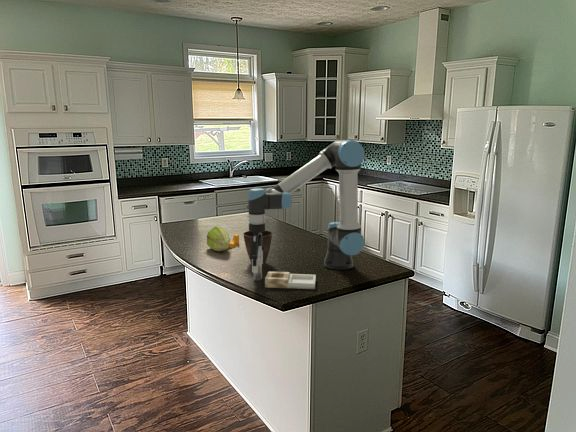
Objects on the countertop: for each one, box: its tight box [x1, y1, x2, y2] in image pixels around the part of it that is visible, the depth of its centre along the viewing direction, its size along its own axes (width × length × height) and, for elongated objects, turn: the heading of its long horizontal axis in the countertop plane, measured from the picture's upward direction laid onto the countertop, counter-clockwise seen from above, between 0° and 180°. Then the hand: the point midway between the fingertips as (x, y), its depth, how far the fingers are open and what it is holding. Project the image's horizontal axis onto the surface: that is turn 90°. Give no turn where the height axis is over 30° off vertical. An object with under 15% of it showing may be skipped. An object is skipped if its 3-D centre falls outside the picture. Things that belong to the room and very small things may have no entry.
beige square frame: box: [264, 271, 291, 289], centre depth 193 cm, size 10×10×4 cm
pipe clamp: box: [226, 234, 240, 250], centre depth 254 cm, size 12×4×6 cm, turn 143°
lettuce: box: [206, 226, 231, 252], centre depth 242 cm, size 13×22×14 cm, turn 26°
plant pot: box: [243, 229, 273, 265], centre depth 222 cm, size 15×15×16 cm
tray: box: [287, 273, 317, 290], centre depth 193 cm, size 12×12×2 cm
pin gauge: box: [252, 245, 263, 282], centre depth 198 cm, size 4×4×16 cm
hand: (257, 267), depth 198 cm, fingers open, 12 cm apart
